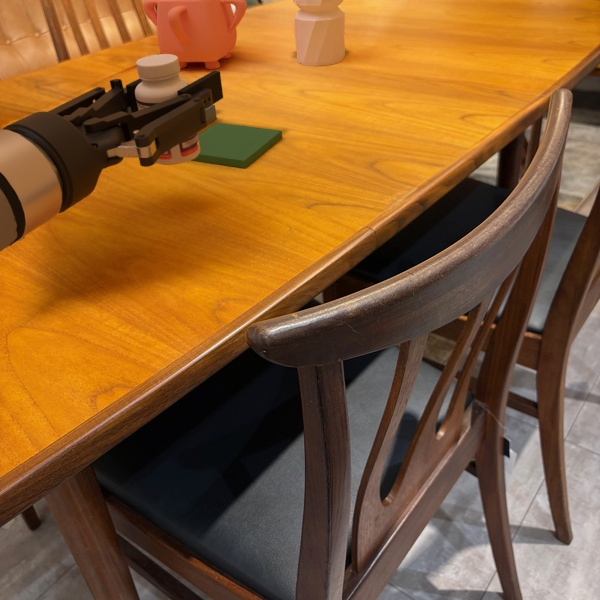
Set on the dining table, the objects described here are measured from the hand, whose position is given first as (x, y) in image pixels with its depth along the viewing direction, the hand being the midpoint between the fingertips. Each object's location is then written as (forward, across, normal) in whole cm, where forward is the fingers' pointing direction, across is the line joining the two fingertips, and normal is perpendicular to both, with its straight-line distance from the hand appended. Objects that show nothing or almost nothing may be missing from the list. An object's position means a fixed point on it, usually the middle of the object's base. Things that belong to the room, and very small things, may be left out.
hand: (193, 82), depth 64 cm
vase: (+50, -8, -12) cm, 52 cm away
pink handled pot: (+44, -29, -12) cm, 54 cm away
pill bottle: (-5, 0, -6) cm, 8 cm away
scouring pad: (+10, -3, -12) cm, 15 cm away
